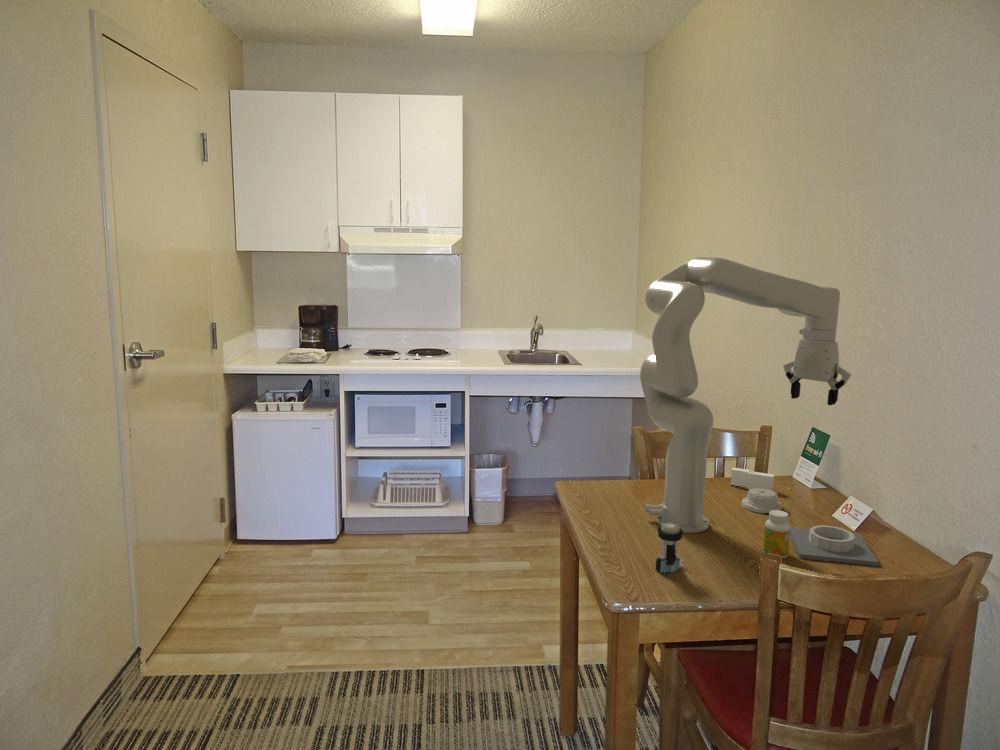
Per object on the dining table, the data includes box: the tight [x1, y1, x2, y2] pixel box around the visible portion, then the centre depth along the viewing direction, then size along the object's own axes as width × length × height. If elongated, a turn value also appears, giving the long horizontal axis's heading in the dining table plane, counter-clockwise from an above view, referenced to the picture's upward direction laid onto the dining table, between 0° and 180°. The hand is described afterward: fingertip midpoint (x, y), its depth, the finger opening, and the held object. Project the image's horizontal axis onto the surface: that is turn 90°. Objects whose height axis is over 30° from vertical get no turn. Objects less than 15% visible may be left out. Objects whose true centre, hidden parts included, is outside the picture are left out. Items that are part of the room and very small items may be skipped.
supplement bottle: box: [762, 510, 791, 559], centre depth 161 cm, size 5×5×10 cm
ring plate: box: [790, 524, 879, 567], centre depth 166 cm, size 16×16×4 cm
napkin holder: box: [730, 467, 775, 492], centre depth 207 cm, size 15×11×6 cm
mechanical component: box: [741, 488, 783, 514], centre depth 191 cm, size 10×4×10 cm
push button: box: [655, 523, 684, 574], centre depth 153 cm, size 7×5×10 cm
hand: (813, 401), depth 188 cm, fingers open, 9 cm apart
